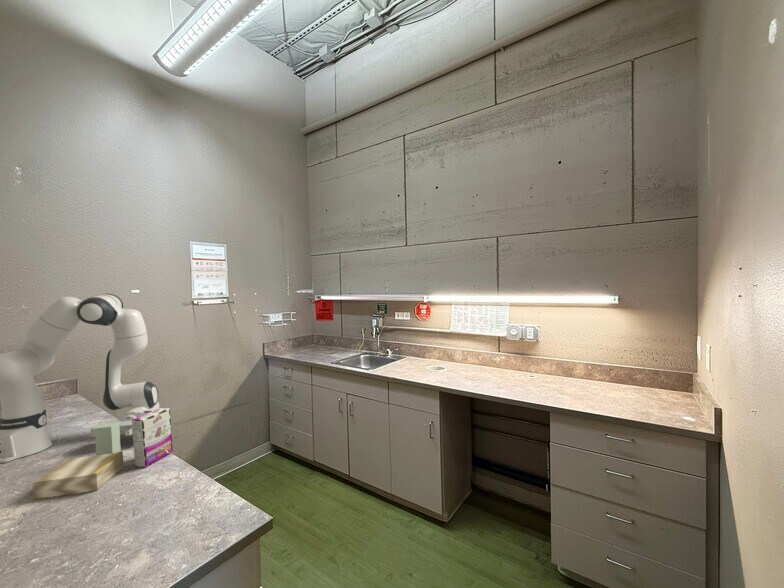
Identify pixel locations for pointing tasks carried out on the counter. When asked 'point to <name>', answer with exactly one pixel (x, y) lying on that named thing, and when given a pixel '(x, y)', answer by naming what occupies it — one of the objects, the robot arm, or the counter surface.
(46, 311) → the robot arm
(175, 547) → the counter surface
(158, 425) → the candy bar box
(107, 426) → the pale green block
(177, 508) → the counter surface
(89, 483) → the dock
